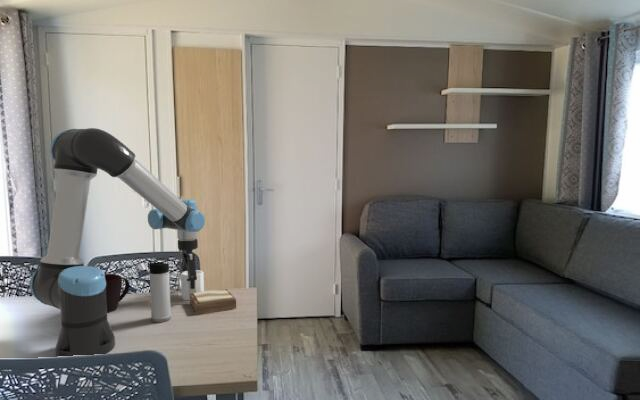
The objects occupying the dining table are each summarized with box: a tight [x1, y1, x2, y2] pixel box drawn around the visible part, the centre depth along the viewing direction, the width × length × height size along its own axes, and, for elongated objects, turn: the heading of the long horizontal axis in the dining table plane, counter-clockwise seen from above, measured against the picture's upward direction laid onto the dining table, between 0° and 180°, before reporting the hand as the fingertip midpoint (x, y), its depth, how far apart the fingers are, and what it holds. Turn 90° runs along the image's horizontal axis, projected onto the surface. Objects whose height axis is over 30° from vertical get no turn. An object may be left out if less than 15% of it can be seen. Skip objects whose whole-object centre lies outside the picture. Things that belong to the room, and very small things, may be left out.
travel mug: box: [148, 262, 172, 324], centre depth 149 cm, size 6×7×20 cm
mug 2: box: [177, 269, 205, 301], centre depth 174 cm, size 12×9×10 cm
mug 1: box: [104, 273, 130, 314], centre depth 160 cm, size 10×14×12 cm
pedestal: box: [189, 288, 237, 316], centre depth 163 cm, size 14×14×4 cm
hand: (189, 291), depth 174 cm, fingers open, 13 cm apart
